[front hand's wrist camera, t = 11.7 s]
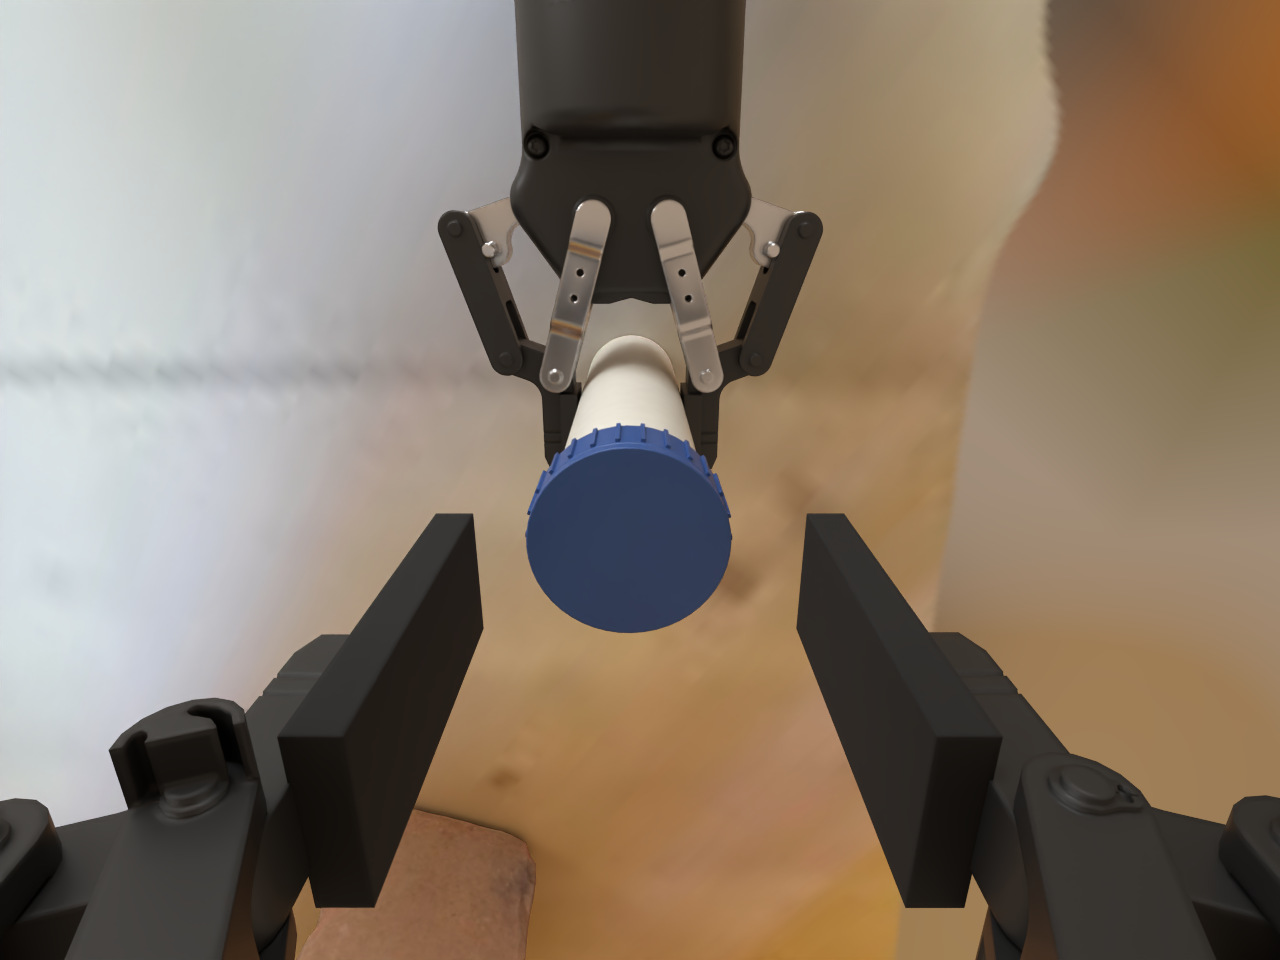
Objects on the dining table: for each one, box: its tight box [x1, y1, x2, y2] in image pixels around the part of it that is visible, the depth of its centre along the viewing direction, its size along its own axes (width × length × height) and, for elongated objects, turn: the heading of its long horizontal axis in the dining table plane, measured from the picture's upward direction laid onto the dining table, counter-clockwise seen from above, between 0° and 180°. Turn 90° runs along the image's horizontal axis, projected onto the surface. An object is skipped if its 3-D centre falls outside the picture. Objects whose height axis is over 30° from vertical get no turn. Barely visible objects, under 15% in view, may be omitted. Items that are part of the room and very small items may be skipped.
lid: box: [525, 423, 732, 633], centre depth 17 cm, size 5×5×2 cm
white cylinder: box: [565, 335, 696, 451], centre depth 25 cm, size 4×4×18 cm
